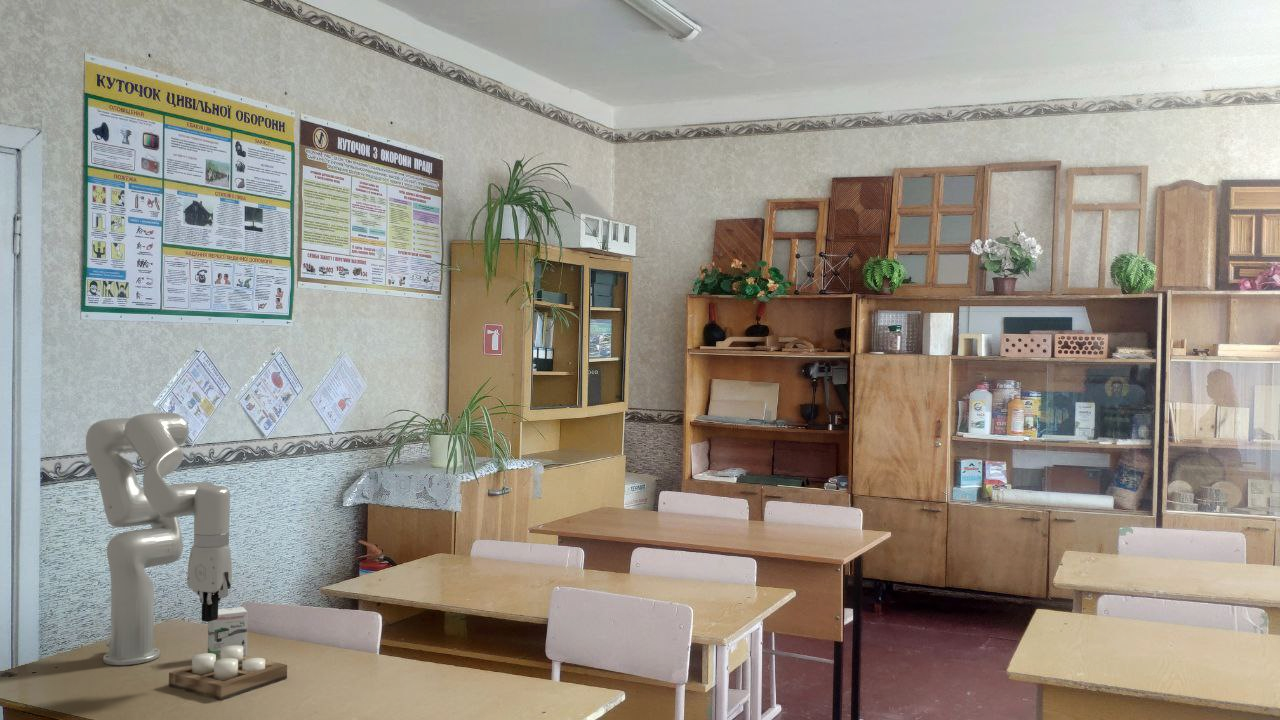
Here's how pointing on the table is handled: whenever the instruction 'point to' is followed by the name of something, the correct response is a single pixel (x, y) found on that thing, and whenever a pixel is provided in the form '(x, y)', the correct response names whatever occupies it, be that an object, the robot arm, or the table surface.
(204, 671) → the button
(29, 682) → the table surface
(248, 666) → the button
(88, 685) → the table surface
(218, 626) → the ink box
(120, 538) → the robot arm
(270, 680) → the button board
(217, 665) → the button
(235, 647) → the button
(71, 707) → the table surface
